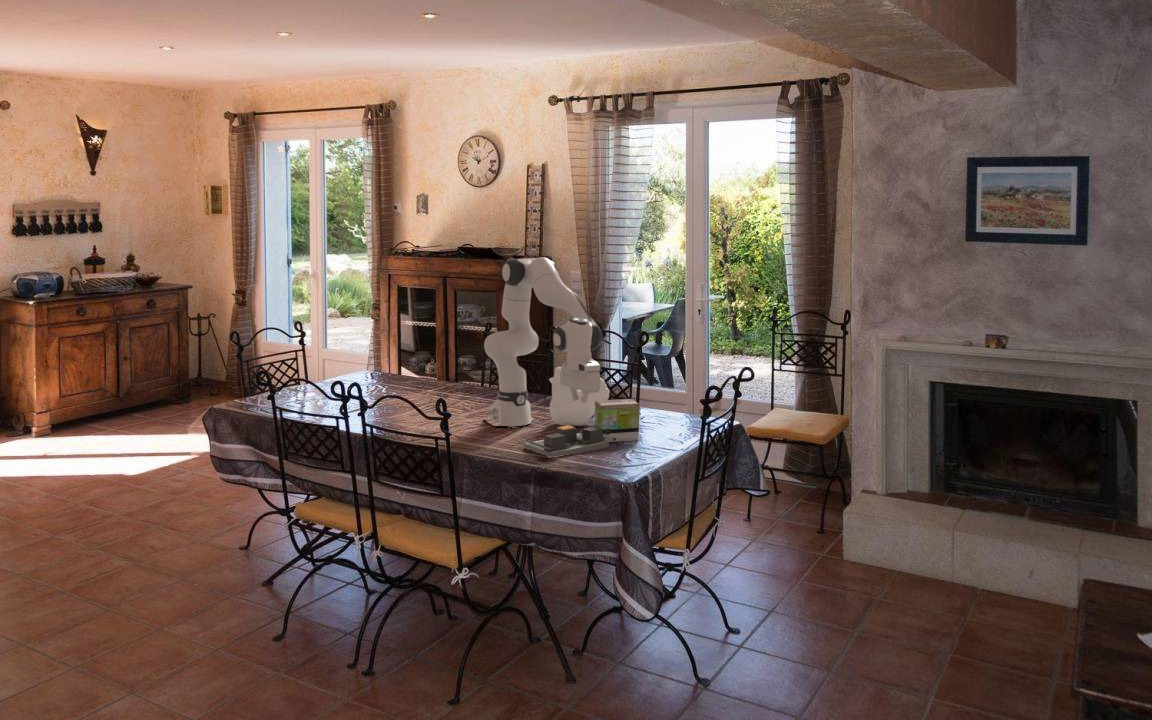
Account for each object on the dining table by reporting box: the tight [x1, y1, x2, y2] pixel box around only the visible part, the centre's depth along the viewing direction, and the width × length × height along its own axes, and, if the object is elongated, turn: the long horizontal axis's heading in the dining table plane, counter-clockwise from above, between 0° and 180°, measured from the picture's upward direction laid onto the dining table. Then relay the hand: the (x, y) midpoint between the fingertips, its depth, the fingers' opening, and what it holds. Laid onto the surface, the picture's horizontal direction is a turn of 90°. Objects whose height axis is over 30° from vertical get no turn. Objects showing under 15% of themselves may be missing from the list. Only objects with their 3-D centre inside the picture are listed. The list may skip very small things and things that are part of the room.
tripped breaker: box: [554, 425, 582, 445], centre depth 369 cm, size 9×9×6 cm
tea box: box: [594, 398, 640, 443], centre depth 381 cm, size 15×10×15 cm, turn 105°
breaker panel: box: [523, 425, 610, 457], centre depth 370 cm, size 18×26×7 cm
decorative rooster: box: [548, 366, 610, 427], centre depth 405 cm, size 25×16×25 cm, turn 95°
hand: (579, 401), depth 360 cm, fingers open, 4 cm apart
